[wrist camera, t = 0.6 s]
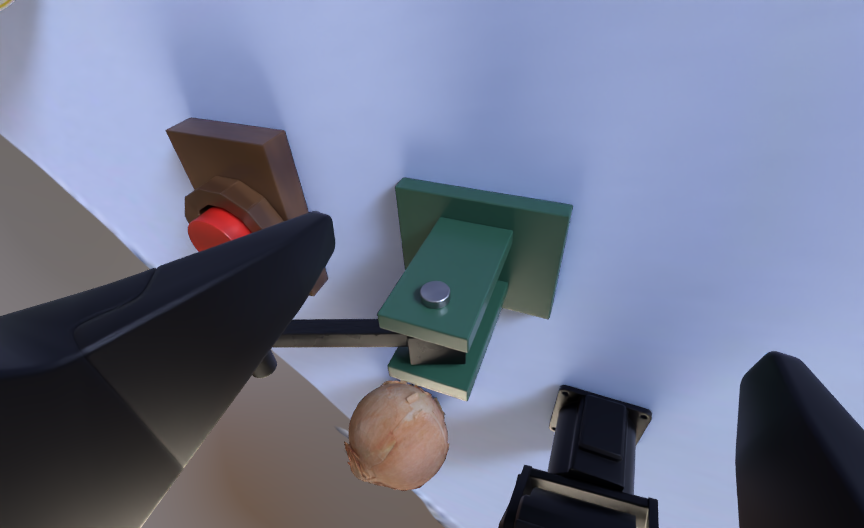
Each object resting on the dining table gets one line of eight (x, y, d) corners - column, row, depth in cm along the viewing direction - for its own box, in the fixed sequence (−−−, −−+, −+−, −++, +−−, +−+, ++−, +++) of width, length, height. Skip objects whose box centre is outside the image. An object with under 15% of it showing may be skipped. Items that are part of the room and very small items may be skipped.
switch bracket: (413, 273, 31) (348, 377, 24) (402, 176, 25) (316, 276, 19) (552, 307, 28) (520, 435, 21) (573, 204, 22) (539, 334, 16)
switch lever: (258, 350, 25) (244, 386, 23) (220, 276, 21) (198, 312, 19) (464, 349, 24) (465, 386, 22) (464, 272, 20) (466, 309, 18)
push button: (268, 263, 30) (252, 278, 29) (221, 250, 32) (203, 265, 30) (247, 212, 27) (228, 227, 26) (196, 201, 29) (176, 215, 28)
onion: (402, 373, 46) (328, 439, 43) (407, 349, 38) (315, 428, 34) (462, 441, 44) (389, 518, 40) (481, 431, 36) (391, 527, 32)
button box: (328, 279, 35) (300, 312, 32) (252, 259, 38) (220, 289, 35) (285, 129, 26) (242, 158, 24) (190, 117, 29) (141, 141, 26)
